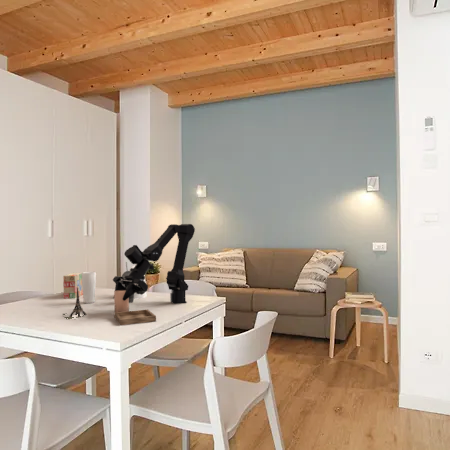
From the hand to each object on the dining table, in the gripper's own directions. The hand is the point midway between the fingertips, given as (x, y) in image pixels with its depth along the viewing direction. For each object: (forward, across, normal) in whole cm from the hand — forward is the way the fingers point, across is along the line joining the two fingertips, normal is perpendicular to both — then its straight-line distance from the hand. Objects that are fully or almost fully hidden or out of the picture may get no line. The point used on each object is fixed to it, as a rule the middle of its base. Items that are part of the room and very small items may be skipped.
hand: (118, 299), depth 171 cm
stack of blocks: (-6, +61, -16) cm, 63 cm away
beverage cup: (-10, +20, -19) cm, 29 cm away
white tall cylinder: (0, +35, -10) cm, 37 cm away
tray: (+6, -12, -4) cm, 14 cm away
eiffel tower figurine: (+14, +13, +3) cm, 19 cm away
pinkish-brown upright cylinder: (+4, 0, -6) cm, 7 cm away
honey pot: (-18, +31, -28) cm, 45 cm away
